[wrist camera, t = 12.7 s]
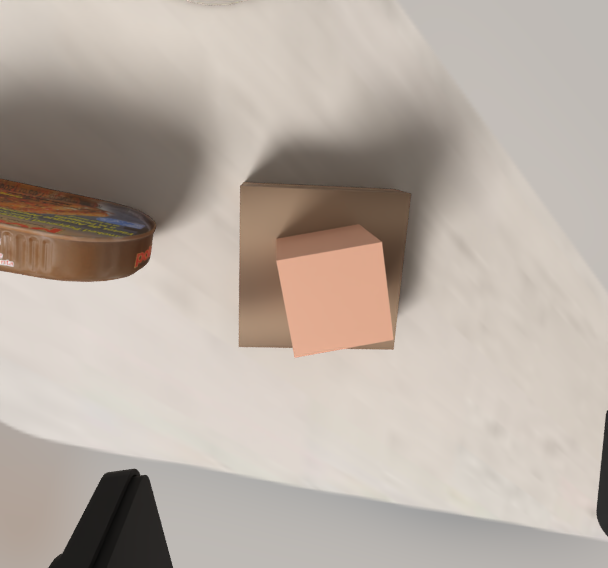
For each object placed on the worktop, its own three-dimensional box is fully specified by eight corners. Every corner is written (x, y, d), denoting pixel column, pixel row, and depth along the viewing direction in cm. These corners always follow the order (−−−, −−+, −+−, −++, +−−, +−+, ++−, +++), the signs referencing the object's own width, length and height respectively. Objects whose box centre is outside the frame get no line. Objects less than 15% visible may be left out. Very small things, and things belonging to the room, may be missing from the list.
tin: (170, 214, 29) (131, 237, 21) (164, 260, 30) (123, 298, 22) (-76, 161, 27) (-222, 164, 19) (-76, 211, 28) (-217, 234, 20)
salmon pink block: (276, 238, 26) (276, 260, 21) (359, 224, 26) (381, 241, 21) (290, 316, 28) (294, 357, 22) (369, 302, 28) (393, 339, 22)
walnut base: (244, 181, 29) (240, 185, 25) (393, 188, 30) (411, 193, 26) (242, 323, 32) (238, 346, 28) (379, 326, 33) (393, 349, 29)
